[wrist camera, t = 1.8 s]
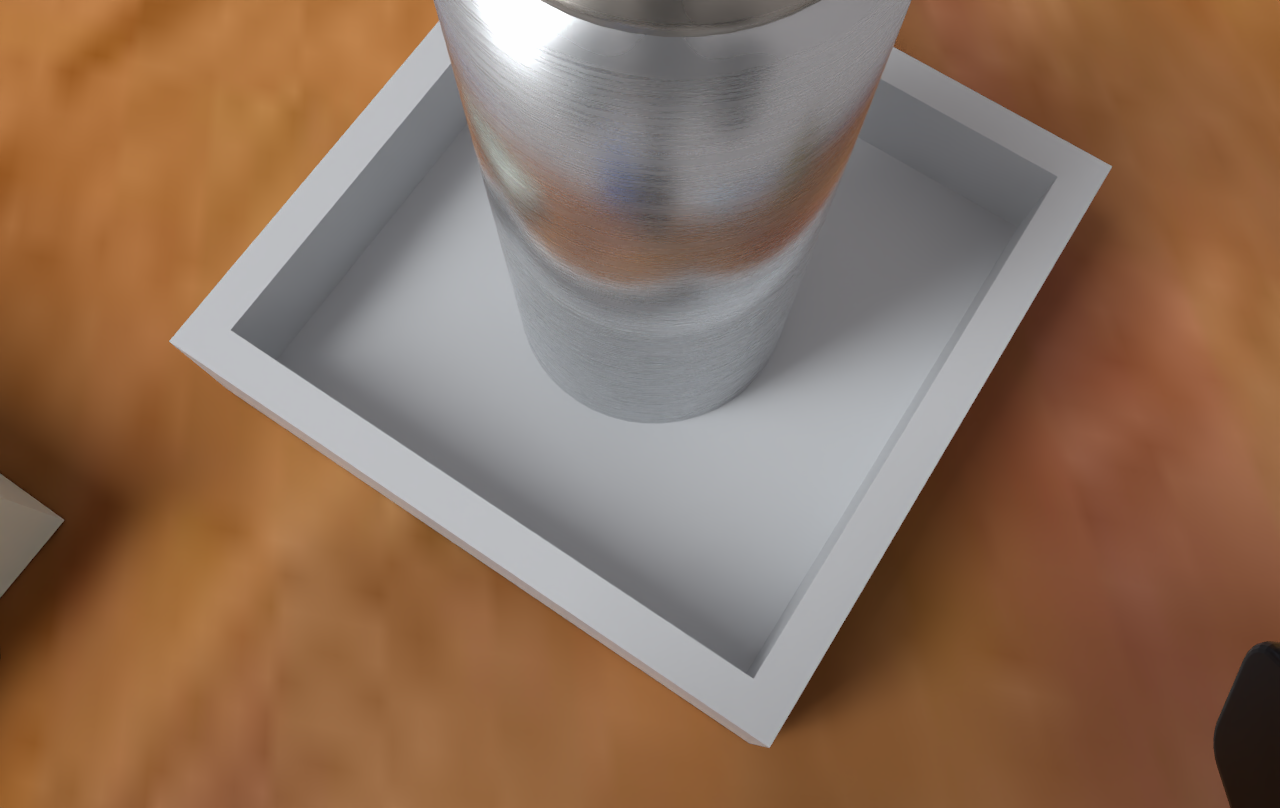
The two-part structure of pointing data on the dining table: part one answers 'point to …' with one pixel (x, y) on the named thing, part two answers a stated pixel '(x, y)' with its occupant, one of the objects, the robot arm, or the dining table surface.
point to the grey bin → (652, 452)
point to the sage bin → (21, 530)
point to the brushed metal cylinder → (662, 176)
